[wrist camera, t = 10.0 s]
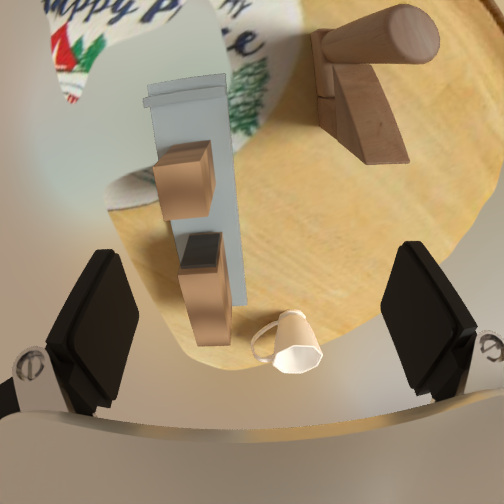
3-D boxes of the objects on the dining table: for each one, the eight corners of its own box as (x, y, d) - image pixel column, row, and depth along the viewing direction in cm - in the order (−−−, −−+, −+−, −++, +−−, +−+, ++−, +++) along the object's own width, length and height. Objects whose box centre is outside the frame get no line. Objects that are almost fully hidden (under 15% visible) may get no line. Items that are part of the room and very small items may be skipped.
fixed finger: (188, 231, 36) (176, 271, 29) (222, 228, 36) (216, 269, 29) (203, 302, 42) (197, 346, 35) (232, 300, 42) (230, 345, 35)
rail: (150, 84, 27) (141, 86, 24) (225, 73, 27) (223, 73, 24) (192, 302, 44) (189, 317, 41) (247, 299, 43) (247, 315, 41)
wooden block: (318, 127, 30) (388, 187, 15) (309, 33, 24) (378, -6, 9) (350, 126, 30) (440, 185, 15) (343, 33, 24) (438, 7, 9)
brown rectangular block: (173, 144, 30) (152, 167, 23) (210, 139, 30) (199, 161, 23) (181, 190, 33) (164, 224, 26) (216, 187, 33) (208, 220, 26)
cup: (316, 328, 47) (324, 368, 41) (256, 340, 49) (257, 381, 42) (310, 297, 44) (320, 339, 37) (244, 311, 45) (244, 354, 38)
